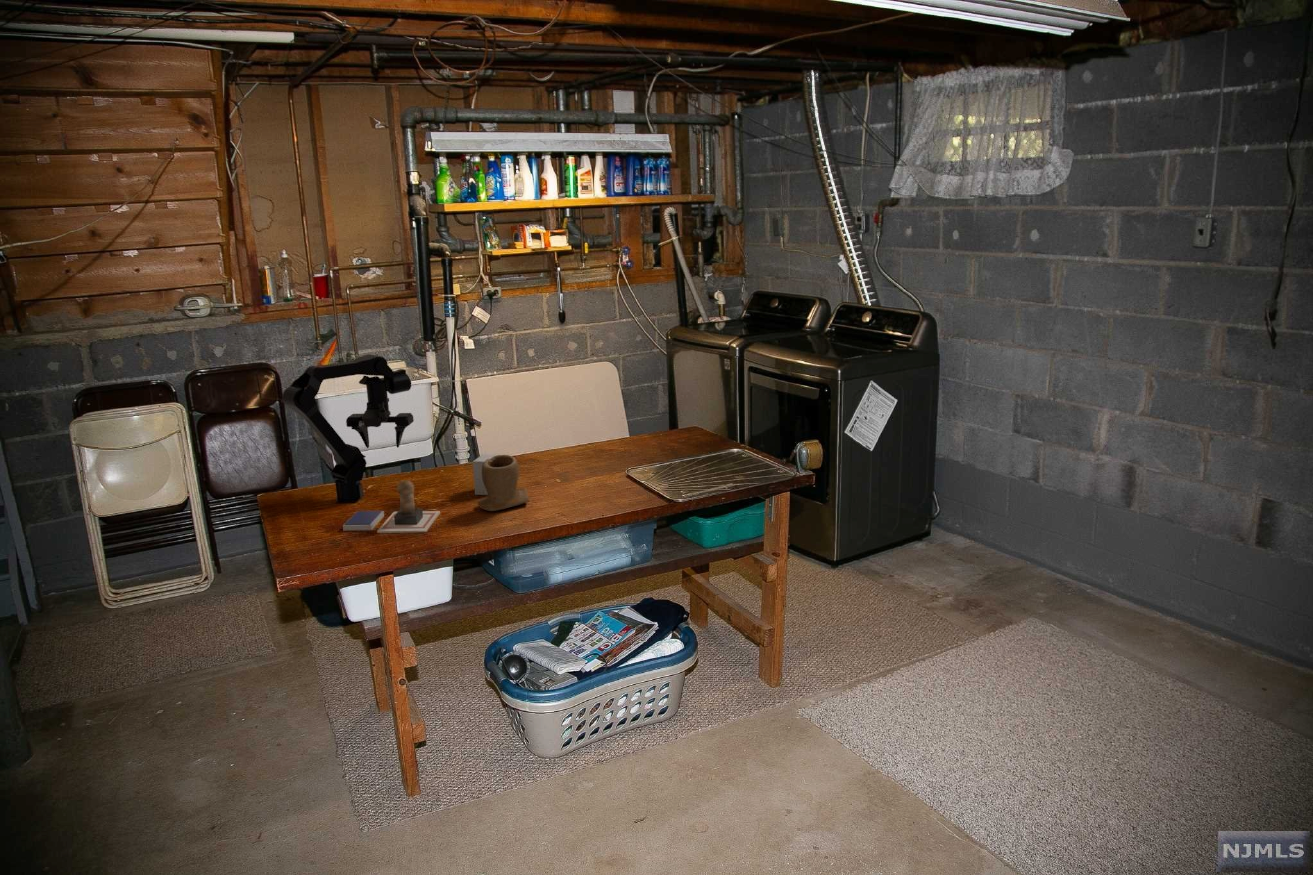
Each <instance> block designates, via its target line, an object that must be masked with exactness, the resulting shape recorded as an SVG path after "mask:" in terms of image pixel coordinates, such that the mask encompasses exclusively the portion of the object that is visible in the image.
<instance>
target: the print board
mask: <svg viewBox="0 0 1313 875" xmlns="http://www.w3.org/2000/svg"><path fill="white" fill-rule="evenodd" d="M397 512H398V511H393V512H392V513H391V515H390V516H389V517H388V518H387V519H386V520H385V521H384V523H382V525H381V526H380V527H379V528H378V529H377V531H376V533H378V534H387V533H389V534H390V533H391V534H394V533H397V534H398V533H401V534H403V533H427V532H428V530H429V529H430V527H431V526H432V525H433V523H434V522H435V521H436V519H437V518H438V517H439V515H440V513H441V511H440V510H434V511H433V510H432V511H431V510H430V511H429V510H428V511H427V510H422V512H423V517H422V519H421V520H420V521H419V523H418V524H417V525H395V520H394V516H395V515H396V513H397Z"/></svg>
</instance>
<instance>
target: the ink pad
mask: <svg viewBox="0 0 1313 875" xmlns="http://www.w3.org/2000/svg"><path fill="white" fill-rule="evenodd" d="M384 517H385V511H384V510H357V511H355V513H354V514H352V516H351V517H349V519H348V520H347V521H346V522H344V524H343V525H342V529H343V531H345V532H346V531H349V532H350V531H372V530H373V529H374V528H375V527H376V526H377V525H378V524H379V522H380V521H381V520H382V519H383V518H384Z"/></svg>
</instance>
